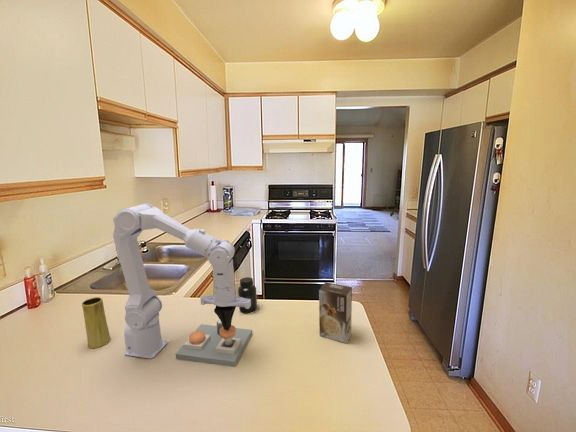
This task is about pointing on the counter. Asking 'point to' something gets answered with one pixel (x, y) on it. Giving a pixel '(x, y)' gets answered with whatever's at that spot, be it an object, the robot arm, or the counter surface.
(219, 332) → the white domed button
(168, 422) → the counter surface
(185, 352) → the mount board
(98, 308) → the vase
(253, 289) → the supplement bottle
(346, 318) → the coffee box
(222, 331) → the knob
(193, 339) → the knob
